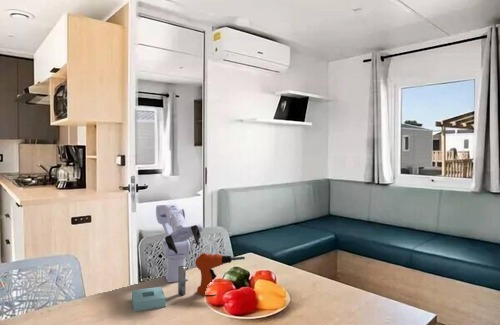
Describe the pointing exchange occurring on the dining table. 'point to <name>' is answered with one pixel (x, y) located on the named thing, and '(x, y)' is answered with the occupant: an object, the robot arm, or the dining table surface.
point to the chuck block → (148, 298)
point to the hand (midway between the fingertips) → (186, 247)
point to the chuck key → (181, 280)
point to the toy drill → (210, 268)
